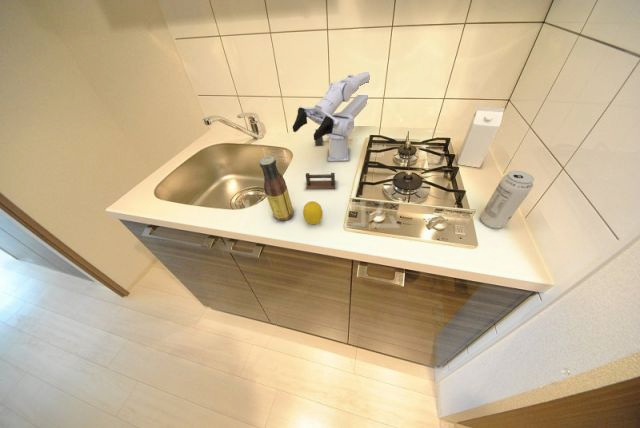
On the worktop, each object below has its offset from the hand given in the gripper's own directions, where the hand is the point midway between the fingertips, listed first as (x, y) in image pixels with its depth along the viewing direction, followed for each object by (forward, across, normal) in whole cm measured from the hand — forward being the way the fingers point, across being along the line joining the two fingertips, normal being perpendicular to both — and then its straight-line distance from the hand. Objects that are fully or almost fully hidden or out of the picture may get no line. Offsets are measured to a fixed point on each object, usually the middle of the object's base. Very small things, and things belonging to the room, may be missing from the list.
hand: (304, 133), depth 69 cm
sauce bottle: (+22, +5, +12) cm, 26 cm away
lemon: (+20, +15, +11) cm, 28 cm away
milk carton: (-32, +49, +18) cm, 62 cm away
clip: (-21, -9, +26) cm, 34 cm away
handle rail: (+5, +8, +16) cm, 19 cm away
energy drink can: (-3, +58, +9) cm, 59 cm away
